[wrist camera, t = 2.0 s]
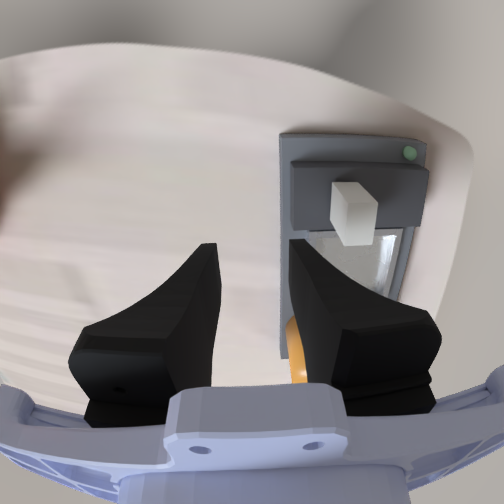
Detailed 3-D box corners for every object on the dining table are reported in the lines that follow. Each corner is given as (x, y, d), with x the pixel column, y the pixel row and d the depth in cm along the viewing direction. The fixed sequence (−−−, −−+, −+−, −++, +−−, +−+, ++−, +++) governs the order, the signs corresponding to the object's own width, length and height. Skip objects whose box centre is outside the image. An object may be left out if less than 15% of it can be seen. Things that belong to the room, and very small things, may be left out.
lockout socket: (381, 296, 24) (385, 304, 23) (302, 303, 24) (304, 311, 23) (397, 222, 20) (403, 228, 19) (306, 225, 20) (309, 232, 20)
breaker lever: (354, 218, 18) (372, 244, 15) (329, 219, 18) (344, 246, 16) (357, 182, 17) (378, 202, 14) (332, 182, 17) (348, 203, 14)
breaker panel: (376, 337, 29) (385, 359, 26) (279, 347, 29) (282, 371, 26) (416, 139, 19) (438, 149, 16) (278, 134, 19) (284, 142, 16)
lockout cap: (344, 329, 26) (359, 378, 21) (301, 351, 27) (310, 400, 22) (321, 299, 24) (335, 351, 19) (275, 324, 25) (280, 378, 20)
